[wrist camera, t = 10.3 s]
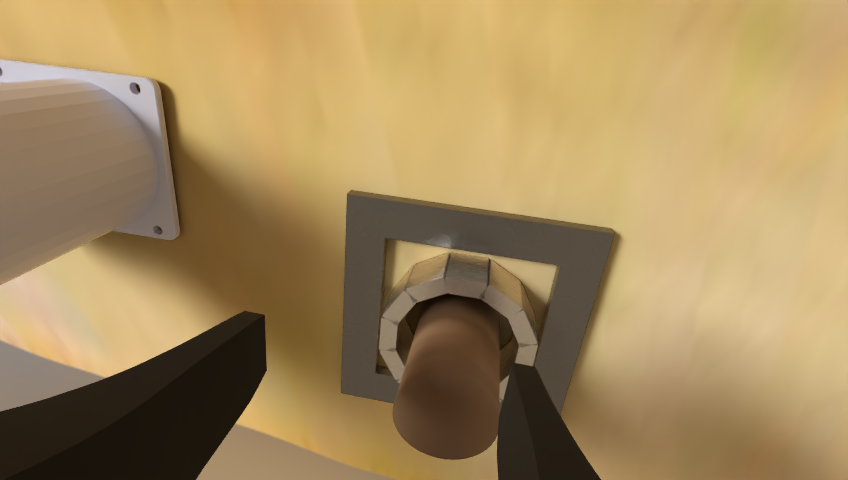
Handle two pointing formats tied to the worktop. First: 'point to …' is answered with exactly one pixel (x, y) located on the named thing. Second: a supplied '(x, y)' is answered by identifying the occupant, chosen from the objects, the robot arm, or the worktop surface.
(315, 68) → the worktop surface
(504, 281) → the cup bracket
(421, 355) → the walnut peg
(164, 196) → the robot arm
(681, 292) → the worktop surface
